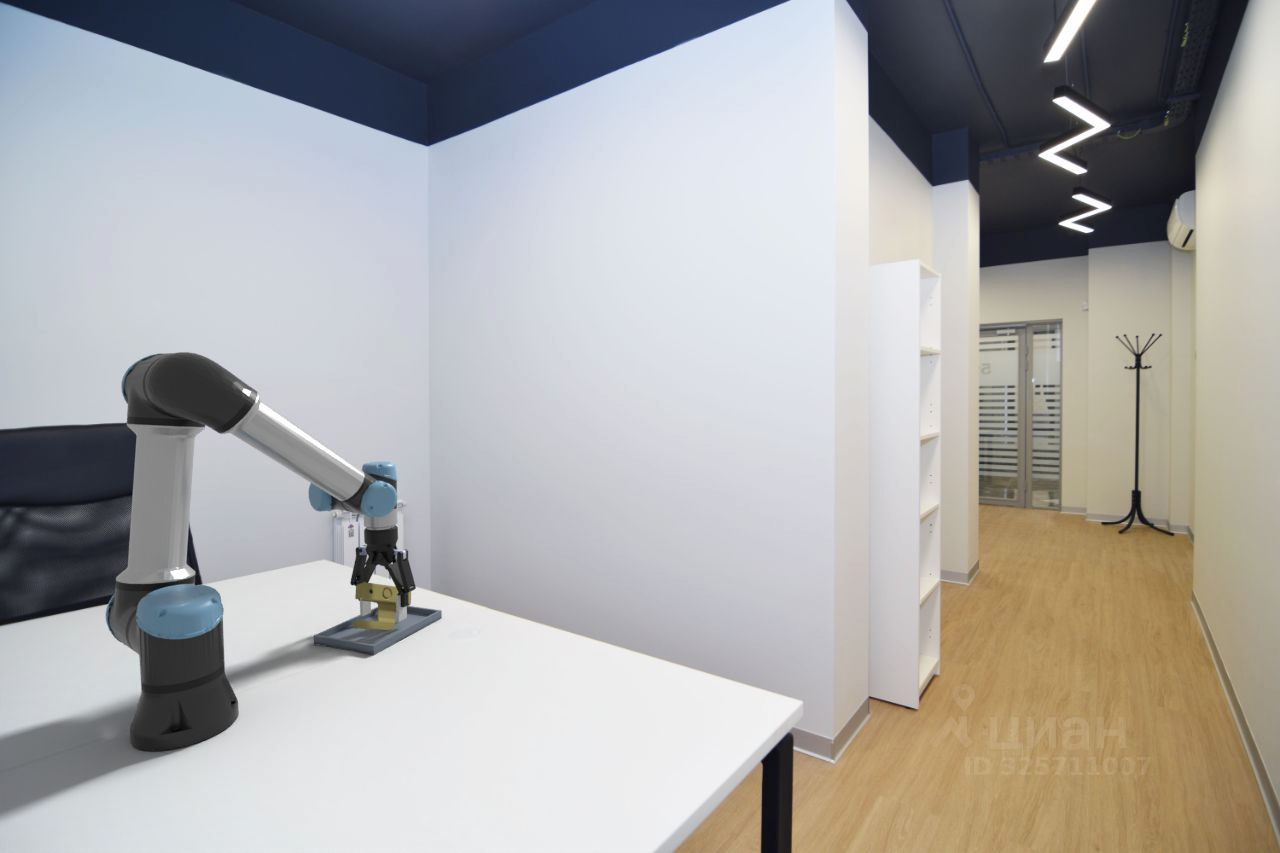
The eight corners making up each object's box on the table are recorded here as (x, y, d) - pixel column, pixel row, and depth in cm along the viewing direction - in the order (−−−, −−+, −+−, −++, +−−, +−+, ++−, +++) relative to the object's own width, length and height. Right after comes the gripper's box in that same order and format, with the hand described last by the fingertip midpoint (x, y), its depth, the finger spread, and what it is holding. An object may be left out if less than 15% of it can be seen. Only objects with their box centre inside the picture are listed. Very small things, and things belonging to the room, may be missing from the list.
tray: (373, 655, 137) (373, 646, 137) (313, 644, 143) (313, 635, 143) (441, 618, 159) (441, 610, 159) (387, 610, 165) (386, 602, 164)
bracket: (383, 639, 157) (411, 631, 153) (331, 636, 146) (359, 627, 142) (385, 597, 162) (412, 588, 158) (334, 591, 151) (361, 581, 146)
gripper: (430, 526, 150) (432, 617, 152) (355, 520, 158) (358, 606, 159) (408, 533, 143) (411, 628, 145) (331, 526, 151) (334, 616, 152)
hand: (383, 616), depth 152 cm, fingers open, 10 cm apart
